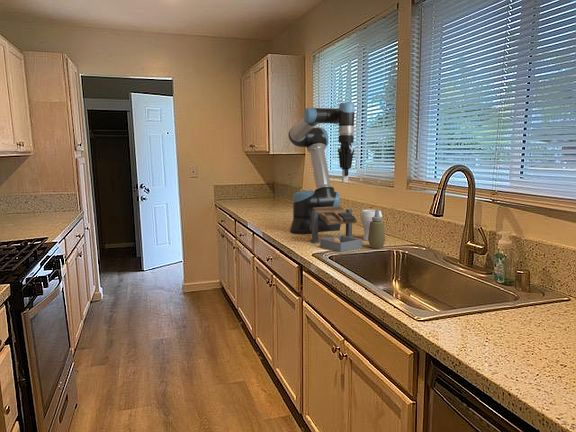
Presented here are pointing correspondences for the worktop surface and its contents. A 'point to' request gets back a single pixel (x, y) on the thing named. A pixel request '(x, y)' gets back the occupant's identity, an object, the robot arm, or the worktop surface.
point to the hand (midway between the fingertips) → (345, 182)
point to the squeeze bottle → (376, 231)
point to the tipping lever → (332, 218)
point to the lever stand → (315, 227)
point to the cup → (367, 220)
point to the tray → (341, 243)
